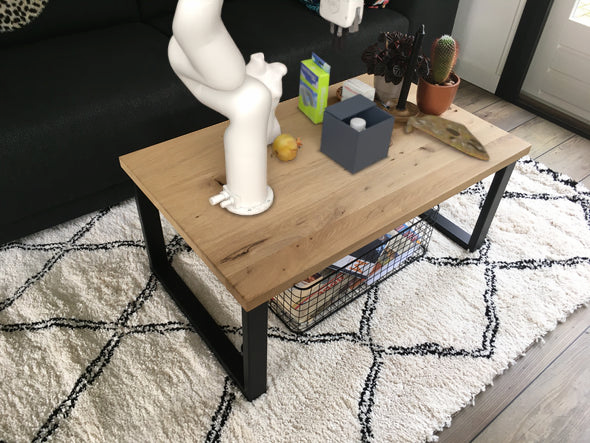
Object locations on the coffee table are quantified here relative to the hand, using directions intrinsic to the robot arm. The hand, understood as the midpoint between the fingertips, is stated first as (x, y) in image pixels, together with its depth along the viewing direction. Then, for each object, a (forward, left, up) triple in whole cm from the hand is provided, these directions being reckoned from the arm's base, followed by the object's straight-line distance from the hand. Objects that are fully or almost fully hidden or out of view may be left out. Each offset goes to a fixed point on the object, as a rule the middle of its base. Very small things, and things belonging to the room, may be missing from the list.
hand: (337, 49), depth 122 cm
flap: (+2, -5, -14) cm, 15 cm away
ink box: (+14, +4, -27) cm, 31 cm away
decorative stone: (+30, -19, -29) cm, 46 cm away
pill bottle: (+2, -8, -27) cm, 28 cm away
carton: (+2, -8, -27) cm, 28 cm away
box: (+6, +14, -27) cm, 31 cm away
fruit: (-14, +2, -27) cm, 31 cm away
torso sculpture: (-15, +12, -27) cm, 33 cm away
